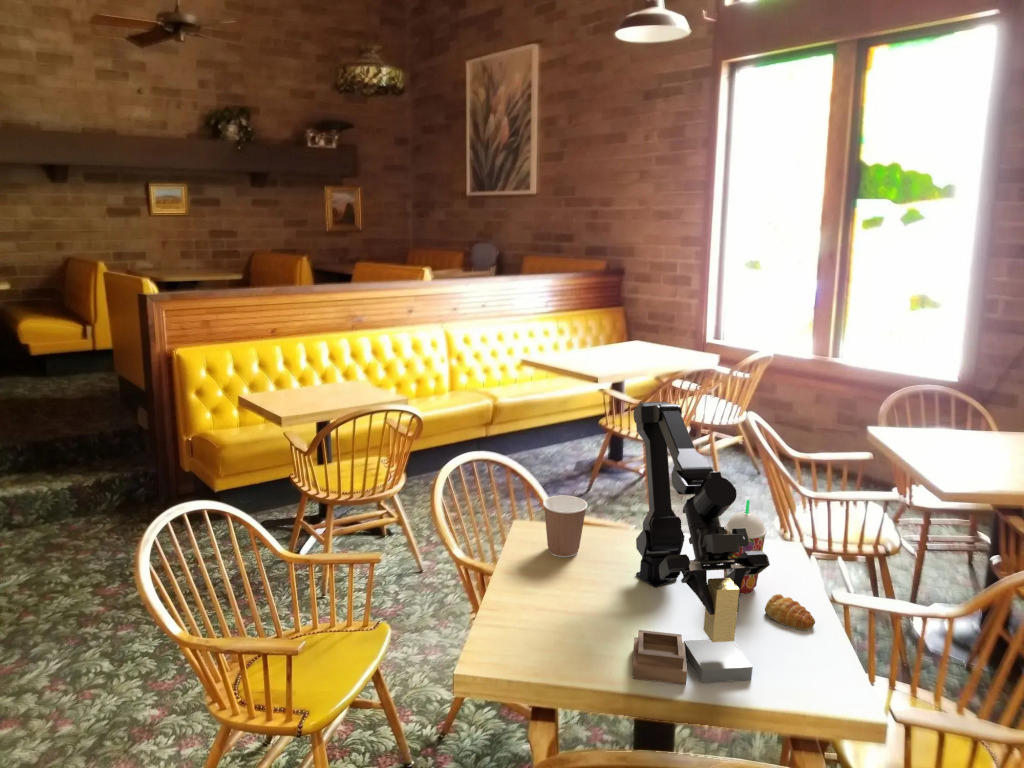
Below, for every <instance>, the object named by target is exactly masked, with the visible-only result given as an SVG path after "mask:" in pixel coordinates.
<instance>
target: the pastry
mask: <svg viewBox="0 0 1024 768" xmlns="http://www.w3.org/2000/svg"><path fill="white" fill-rule="evenodd" d="M764 611H765V613H766V615H768V617H769V618H770V619H772V620H774V621H775V622H776V623H779V624H782V625H783V626H786V627H790V628H792V629H794V630H795V629H796V630H801V631H810V630H811V629H813V627H814V626H815V624H816V619H815V617H814V616H813V615H812V614H811V612H810V611H808V610H807V609H806V607H805V606H803V605H801V604H800V603H799V602H798V601H797V600H794V599H793V598H791V597H789V596H788V597H784V596H783V595H782V594H780V593H779V594H777V593H776V594H774V595H772V596H771V598H769V600H768V601H767V602H766V604H765V608H764Z"/></svg>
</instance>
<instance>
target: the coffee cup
mask: <svg viewBox="0 0 1024 768" xmlns="http://www.w3.org/2000/svg"><path fill="white" fill-rule="evenodd" d="M542 504H543V505H542V506H543V507H544V518H545V519H544V520H545V531H546V540H547V548H548V552H549V553H550V554H551V556H554V557H558V558H571V557H574V556H576V555H577V554H578V553H579V549H580V545H581V540H582V534H583V527H584V523H585V522H584V521H585V516H586V510H587V508H588V502H586V501H585V500H584V499H582V498H580V497H576V496H573V495H567V494H566V495H559V494H558V495H553V496H549V497H546V498H545V499H544V500H543V501H542Z"/></svg>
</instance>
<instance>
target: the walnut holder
mask: <svg viewBox="0 0 1024 768" xmlns="http://www.w3.org/2000/svg"><path fill="white" fill-rule="evenodd" d="M637 634H638V635H637V636H638V637H636V636H634V637H633V650H632V651H633V652H632V653H633V654H632V657H633V658H632V679H634V680H642V681H652V682H659V683H668V684H675V685H676V684H677V685H684V686H686V685H687V678H688V677H687V676H688V668H687V666H688V665H687V659H686V654H685V643H684V641H683V637H682V634H680V633H674V632H673V633H671V632H663V631H655V630H654V631H652V630H643V629H639V630H638V633H637Z"/></svg>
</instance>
